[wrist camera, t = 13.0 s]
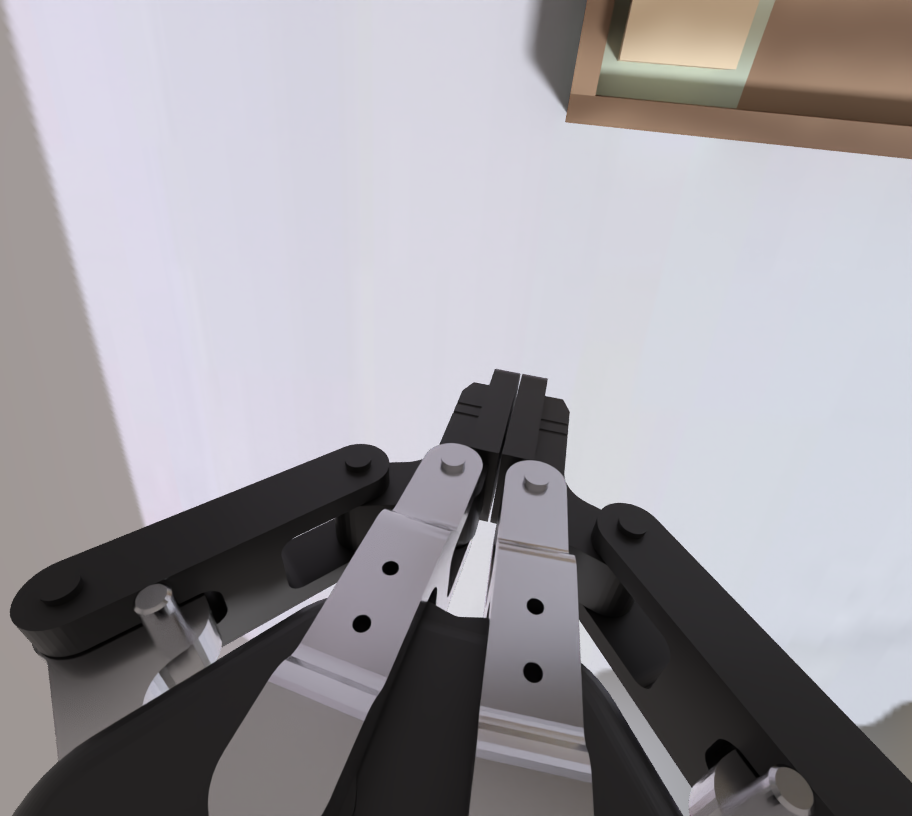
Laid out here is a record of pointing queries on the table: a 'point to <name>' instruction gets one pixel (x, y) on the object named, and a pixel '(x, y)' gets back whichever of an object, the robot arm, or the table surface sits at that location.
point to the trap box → (764, 79)
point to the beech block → (687, 32)
